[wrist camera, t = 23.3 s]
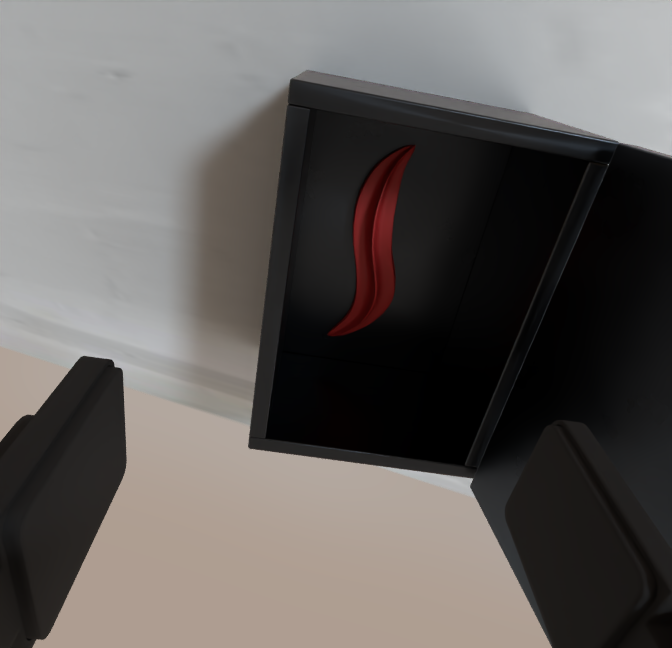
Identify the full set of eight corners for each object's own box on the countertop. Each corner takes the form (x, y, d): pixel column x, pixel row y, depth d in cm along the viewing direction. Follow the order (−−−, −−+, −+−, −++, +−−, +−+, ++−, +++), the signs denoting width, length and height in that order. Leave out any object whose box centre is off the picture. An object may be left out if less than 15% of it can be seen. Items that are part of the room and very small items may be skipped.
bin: (270, 353, 32) (247, 449, 24) (306, 69, 24) (290, 77, 16) (442, 378, 33) (474, 479, 25) (533, 114, 25) (620, 142, 17)
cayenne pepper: (359, 348, 31) (360, 366, 29) (292, 319, 30) (289, 335, 28) (467, 173, 25) (476, 181, 24) (390, 130, 24) (393, 136, 23)
